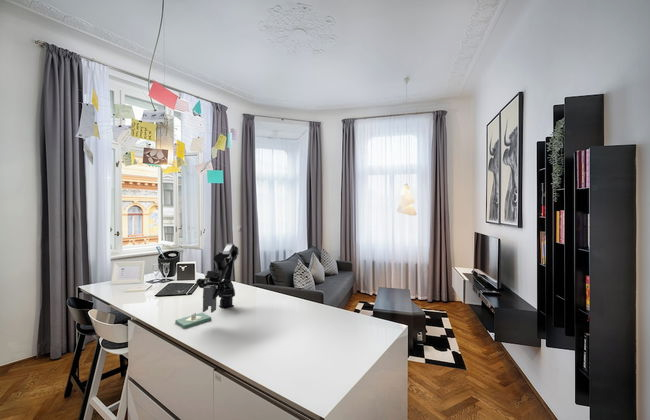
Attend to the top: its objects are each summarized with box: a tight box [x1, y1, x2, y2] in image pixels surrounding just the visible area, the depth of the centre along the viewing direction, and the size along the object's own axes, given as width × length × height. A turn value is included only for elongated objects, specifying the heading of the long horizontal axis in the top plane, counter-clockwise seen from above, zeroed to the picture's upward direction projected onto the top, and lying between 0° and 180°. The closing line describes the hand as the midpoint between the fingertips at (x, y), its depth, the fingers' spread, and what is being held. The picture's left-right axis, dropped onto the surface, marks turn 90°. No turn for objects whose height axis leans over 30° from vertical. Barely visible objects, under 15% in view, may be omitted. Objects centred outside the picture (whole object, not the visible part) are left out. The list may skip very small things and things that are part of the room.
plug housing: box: [202, 285, 217, 313], centre depth 136 cm, size 4×5×12 cm
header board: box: [174, 312, 212, 329], centre depth 139 cm, size 14×10×4 cm
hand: (208, 298), depth 134 cm, fingers closed on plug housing, 5 cm apart
